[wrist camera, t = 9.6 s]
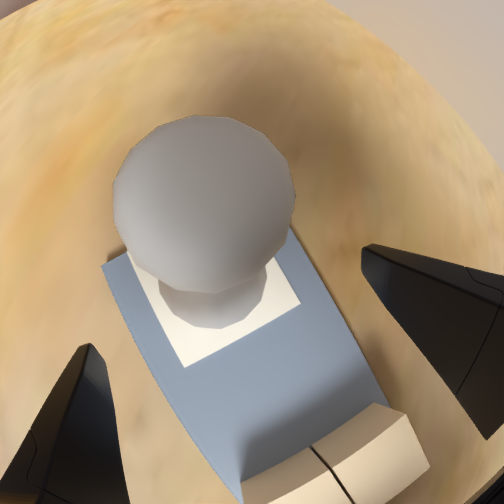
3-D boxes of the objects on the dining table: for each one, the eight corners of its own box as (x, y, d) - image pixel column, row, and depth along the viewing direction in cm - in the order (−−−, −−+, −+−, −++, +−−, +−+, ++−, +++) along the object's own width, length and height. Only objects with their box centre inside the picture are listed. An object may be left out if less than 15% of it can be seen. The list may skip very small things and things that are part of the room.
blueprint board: (403, 444, 18) (442, 462, 13) (266, 529, 15) (278, 568, 11) (261, 190, 22) (273, 152, 17) (106, 269, 19) (75, 249, 14)
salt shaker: (211, 216, 20) (207, 48, 7) (279, 277, 19) (385, 176, 7) (145, 283, 18) (28, 189, 6) (215, 349, 18) (207, 387, 5)
